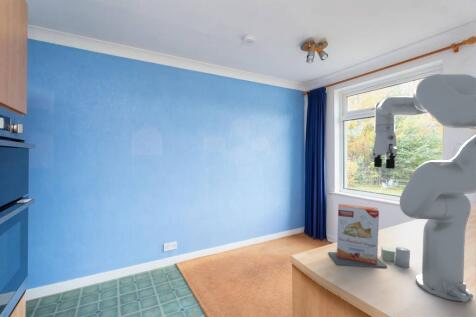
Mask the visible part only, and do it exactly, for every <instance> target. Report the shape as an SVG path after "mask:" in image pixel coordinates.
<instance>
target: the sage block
mask: <svg viewBox="0 0 476 317" xmlns="http://www.w3.org/2000/svg"><path fill="white" fill-rule="evenodd" d="M380 249H381V252H380V253H381V259H382V260H384V261H389V262H393V263H395V253H396V250H394V249H395V248H393V247H387V246H381V248H380Z"/></svg>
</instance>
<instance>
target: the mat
mask: <svg viewBox="0 0 476 317" xmlns="http://www.w3.org/2000/svg"><path fill="white" fill-rule="evenodd" d="M328 255H329V257H330V258H331V260H333V262H334V263H335V265H336V266H346V267H361V268H362V267H363V268H378V269H379V268H381V269H387V268H388V267H387V265H386V264H385V263H384V262H383V261H382V260H380V258H379V257H377V265H373V264H368V263H364V262H359V261H354V260H349V259H344V258H339V257H337V251H335V252H333V251H328Z"/></svg>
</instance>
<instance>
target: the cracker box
mask: <svg viewBox="0 0 476 317" xmlns="http://www.w3.org/2000/svg"><path fill="white" fill-rule="evenodd" d="M337 209H338V210H337V236H336V237H337V242H336V244H337V245H336V252H337V257H339V258H344V259H349V260H354V261H359V262H364V263H368V264H373V265H377V258H379V257H378V254H379V253H378V249H379V248H378V246H379V223H380V222H379V219H380V210H378V207H371V206H361V205H355V204H354V205H353V204H346V203H345V204H344V203H338V207H337Z"/></svg>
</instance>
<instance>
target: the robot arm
mask: <svg viewBox="0 0 476 317" xmlns="http://www.w3.org/2000/svg"><path fill="white" fill-rule="evenodd" d="M427 113H428V114H429V115H430V116H431V117H432V118H433V119H434V120H435V121H437V122H438V123H439V124H440V125H441V126H444V127H447V128H451V129H476V77H475V76H473V75H470V74H464V73H458V74H457V73H455V74H453V73H451V74H448V73H447V74H446V73H444V74H443V73H442V74H441V73H439V74H431V75H428V76H426V77H424V78H423V79H421V80H420V81H419V83H418V84H417V85H416V88H415V91H414V92H413V94H412V96H389V97H386V98H384V99H383V100H382V101H379V102H376V104H375V106H374V134H375V135H374V142H373V143H374V144H373V149H372V155H373V160H374V161H373V166H374V168H382V167H383V158H382V157H383V155H385V157H386V159H385V169H390V170H393V169H395V167H396V166H395V163H396V162H395V161H396V157H397V156H398V155H397V152H398V147H397V145H398V143H397V135H396V116H418V115H423V114H427ZM474 193H476V134H475V135H473V136H471V138H469V139H468V140H467V141H465V142H464V143H463V144H462V146H460V148H459V150H458V151H457V153H456V154H455V156H453V158H451V159H447V160H440V159H439V160H428V161H425V162H423V163H421V164H419V165H418V166H417V167H416V168H415V169H414V172H413V173H412V174H411V176H410V179H409V180H408V182H407V183H406V185H405V187H404V189H403V191H402V192H401V195H400V196H399V207H400V210H401V212H402V213H403V214H404V215H405V216H406V217H408V218H410V219H415V220H427V221H426V222H425V224H424V227H423V232H422V233H423V234H422V265H421V268H422V269H421V270H422V271H421V274H418V275H416V277H415V282H416V284H417V285H418V286H419V287H420V288H421V289H422V290H424V291H426V292H428V293H430V294H432V295H435V296H437V297H439V298H442V299H445V300H446V299H447V300H449V301H454V302H463V303H464V302H465V303H466V302H468V301H469V300H471V299H473V298H474V295H473V294H472V293H471V292H470V290H468V288H467V283H465V282H464V280H465V279H464V276H465V273H464V272H465V270H464V269H465V243H466V241H465V240H466V228H467V223H468V221H469V218H470V213H471V211H472V205H471V201H470V199H469V198H468V196H467V194H474Z"/></svg>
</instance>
